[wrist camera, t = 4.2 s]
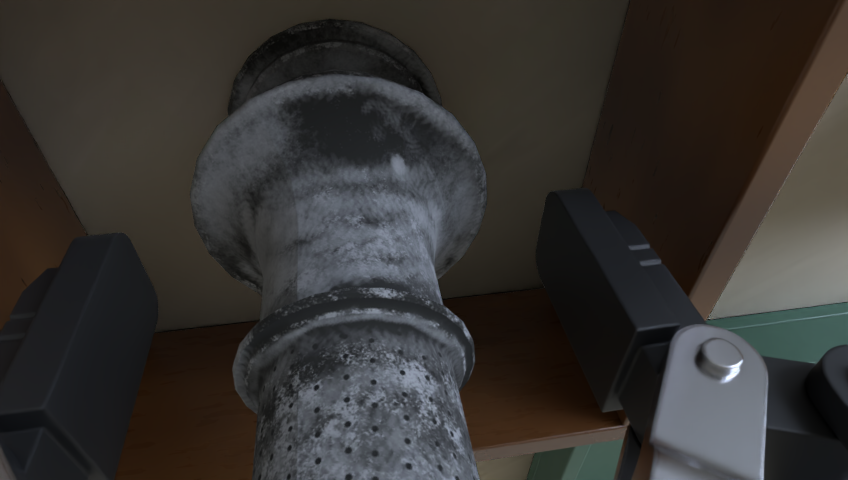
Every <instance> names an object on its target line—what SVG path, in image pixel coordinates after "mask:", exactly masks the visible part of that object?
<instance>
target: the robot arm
mask: <svg viewBox="0 0 848 480" xmlns="http://www.w3.org/2000/svg"><path fill="white" fill-rule="evenodd" d="M536 264H537V269H538V273H539V276H540V279H541V281H542V283H543V285H544V287H545V290H546V292H547V294H548V296H549V298H550V300H551V303H552V305H553V307H554V309H555V311H556V314H557V316H558V318H559V320H560V322H561V324H562V327H563V329H564V331H565V333H566V335H567V338H568V340H569V342H570V344H571V346H572V349H573V351H574V353H575V355H576V357H577V359H578V362H579V364H580V366H581V368H582V370H583V373H584V375H585V377H586V379H587V381H588V383H589V386H590V388H591V390H592V392H593V394H594V397H595V399H596V401H597V403H598V405H599V407H600V410H601V412H609V411H615V410H622V409H623V410H624V412H625V414H626V416H627V418H628V420H629V422H630V423H629V425H628V427H627V430H626V433H625V436H624V440H623V444H622V448H621V452H620V456H619V460H618V463H617V467H616V471H615V475H614V479H613V480H848V345H839V346H835V347H833V348H831V349H829V350H828V351H827V352H826V353H825V354H824V355H823V356H822V358H821V359H820V360H819V361H818V362H817V364H814V363H807V362H800V361H794V360H787V359H780V358H773V357H766V356H761V355H760V354H759V353H758V351H757V350H756V349H755V348H754V347H753V346H752V345H751V344H749V343H748V342H747V341H746V340H744V339H743V338H741V337H740V336H738V335H737V334H735V333H733V332H731V331H728V330H726V329H724V328H720V327H717V326H713V325H708V324H707V323H706V321H705V320H704V319H703V317H702V316H701V315H700V313H699V312H698V310H697V309H696V308H695V306H694V305H693V303H692V302H691V301H690V299H689V298H688V297H687V295H686V294H685V292H684V291H683V290H682V288H681V287H680V285H679V284H678V283H677V281H676V280H675V279H674V277H673V276H672V274H671V273H670V272H669V270H668V269H667V267H666V266H665V265H664V264H661V259H660V258H659V256H658V255H657V254H656V252H655V251H654V249H653V248H650V244H649V242H648V241H647V240H646V238H645V237H644V236H643V234H642V233H641V231H640V230H639V229H638V227H637V226H636V225H635V224H633V223H632V222H631V221H629V220H628V219H626V218H625V217H624V216H622V215H621V214H619V213H618V212H617V211H615V210H612V211H605V210H604V209H603V208H602V206H601V205H600V203H599V202H598V200H597V199H596V197H595V196H594V194H593V193H592V191H591V190H589V189H588V188H580V189H570V190H560V191H551V192H549V193H548V195H547V197H546V200H545V205H544V210H543V215H542V220H541V225H540V230H539V235H538V241H537V246H536ZM9 317H10V321H6V323H5V325H4V327H3V329H2V330H1V332H0V480H114V479H115V475H116V472H117V468H118V464H119V460H120V457H121V453H122V449H123V446H124V442H125V438H126V435H127V431H128V427H129V424H130V420H131V416H132V413H133V409H134V405H135V402H136V398H137V394H138V391H139V387H140V383H141V380H142V376H143V372H144V369H145V365H146V361H147V357H148V354H149V350H150V346H151V343H152V339H153V335H154V332H155V328H156V324H157V320H158V300H157V295H156V292H155V289H154V287H153V285H152V283H151V281H150V279H149V277H148V275H147V273H146V271H145V269H144V267H143V265H142V263H141V261H140V258H139V256H138V254H137V252H136V250H135V248H134V246H133V244H132V242H131V240H130V239H129V237H128V236H127V235H126V234H124V233H111V234H101V235H91V236H81V237H76V238H74V239H73V241H72V242H71V244H70V246H69V248H68V250H67V252H66V254H65V256H64V258H63V260H62V262H61V264H60V266H59V267H56V268H47V269H46V270H45V271H44V272H43V273H42V274H41V275H40V276H39V277H38V278H36V279H35V280H34V281H33V282H32V283H31V284H30V285H29V286H28V287H27V288H26V289H25V290H24V291H23V292H22V294H21V296H20V297H19V299H18V301H17V303H16V305H15V307H14V308H13V310H12V312H11V314H10V316H9Z"/></svg>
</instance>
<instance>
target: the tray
mask: <svg viewBox="0 0 848 480" xmlns="http://www.w3.org/2000/svg"><path fill="white" fill-rule="evenodd" d="M706 323H707V324H708V325H713V326H717V327H720V328H724V329H726V330H728V331H731V332H733V333H735V334H737V335H738V336H740V337H741V338H743V339H744V340H746V341H747V342H748V343H749V344H751V345H752V346H753V347H754V348H755V349H756V350H757V351H758V353H759V354H760V355H761V356H766V357H773V358H780V359H787V360H794V361H800V362H807V363H814V364H817V362H818V361H819V360H820V359H821V358H822V356H823V355H824V354H825V353H826V352H827V351H828V350H829V349H831V348H833V347H835V346H839V345H848V302H847V303H839V304H831V305H823V306H815V307H808V308H800V309H792V310H784V311H777V312H769V313H761V314H753V315H746V316H738V317H730V318H722V319H715V320H707V321H706ZM623 440H624V439H621V440H615V441H608V442H602V443H595V444H589V445H582V446H576V447H570V448H563V449H557V450H550V451H544V452H537V453H535V454H534V457H533V461H532V464H531V467H530V470H529V473H528V476H527V480H613V479H614V475H615V471H616V467H617V463H618V460H619V456H620V452H621V448H622V444H623Z"/></svg>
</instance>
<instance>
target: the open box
mask: <svg viewBox="0 0 848 480" xmlns="http://www.w3.org/2000/svg"><path fill="white" fill-rule="evenodd" d="M847 72H848V0H630V4H629V8H628V12H627V16H626V20H625V24H624V27H623V31H622V35H621V39H620V43H619V47H618V51H617V55H616V58H615V62H614V66H613V70H612V74H611V78H610V82H609V86H608V89H607V93H606V97H605V101H604V105H603V109H602V113H601V117H600V121H599V124H598V128H597V132H596V136H595V140H594V144H593V148H592V152H591V155H590V159H589V163H588V167H587V171H586V175H585V179H584V183H583V186H582V188H588V189H589V190H591V191H592V193H593V194H594V196H595V197H596V199H597V200H598V202H599V203H600V205H601V206H602V208H603V209H604V210H605V211H612V210H615V211H617V212H618V213H619V214H621V215H622V216H624V217H625V218H626V219H628V220H629V221H631V222H632V223H633V224H635V225H636V226H637V227H638V229H639V230H640V231H641V233H642V234H643V236H644V237H645V238H646V240H647V241H648V242H649V244H650V248H653V249H654V251H655V252H656V254H657V255H658V256H659V258H660V259H661V264H664V265H665V266H666V267H667V269H668V270H669V272H670V273H671V274H672V276H673V277H674V279H675V280H676V281H677V283H678V284H679V285H680V287H681V288H682V290H683V291H684V292H685V294H686V295H687V297H688V298H689V299H690V301H691V302H692V303H693V305H694V306H695V308H696V309H697V310H698V312H699V313H700V315H701V316H702V317H703V319H704V320H705V321H706V320H707V318H708V316H709V315H710V313H711V311H712V309H713V308H714V306H715V304H716V302H717V301H718V299H719V297H720V295H721V294H722V292H723V290H724V288H725V287H726V285H727V283H728V281H729V280H730V278H731V276H732V274H733V272H734V271H735V269H736V267H737V265H738V264H739V262H740V260H741V258H742V257H743V255H744V253H745V251H746V250H747V248H748V246H749V244H750V243H751V241H752V239H753V237H754V236H755V234H756V232H757V230H758V229H759V227H760V225H761V223H762V222H763V220H764V218H765V216H766V215H767V213H768V211H769V209H770V208H771V206H772V204H773V202H774V201H775V199H776V197H777V195H778V193H779V192H780V190H781V188H782V186H783V185H784V183H785V181H786V179H787V178H788V176H789V174H790V172H791V171H792V169H793V167H794V165H795V164H796V162H797V160H798V158H799V157H800V155H801V153H802V151H803V150H804V148H805V146H806V144H807V143H808V141H809V139H810V137H811V136H812V134H813V132H814V130H815V129H816V127H817V125H818V123H819V122H820V120H821V118H822V116H823V114H824V113H825V111H826V109H827V107H828V106H829V104H830V102H831V100H832V99H833V97H834V95H835V93H836V92H837V90H838V88H839V86H840V85H841V83H842V81H843V79H844V78H845V76H846V74H847ZM81 236H87V234H86V232H85V230H84V229H83V227H82V225H81V223H80V221H79V220H78V218H77V216H76V214H75V213H74V211H73V209H72V207H71V205H70V204H69V202H68V200H67V198H66V196H65V195H64V193H63V191H62V189H61V187H60V186H59V184H58V182H57V180H56V178H55V177H54V175H53V173H52V171H51V169H50V168H49V166H48V164H47V162H46V160H45V159H44V157H43V155H42V153H41V151H40V150H39V148H38V146H37V144H36V142H35V141H34V139H33V137H32V135H31V133H30V132H29V130H28V128H27V126H26V124H25V123H24V121H23V119H22V117H21V115H20V114H19V112H18V110H17V108H16V106H15V105H14V103H13V101H12V99H11V97H10V96H9V94H8V92H7V90H6V88H5V87H4V85H3V83H2V81H1V80H0V332H1V330H2V329H3V327H4V325H5V323H6V321H10V317H9V316H10V314H11V312H12V310H13V308H14V307H15V305H16V303H17V301H18V299H19V297H20V296H21V294H22V292H23V291H24V290H25V289H26V288H27V287H28V286H29V285H30V284H31V283H32V282H33V281H34V280H35V279H36V278H38V277H39V276H40V275H41V274H42V273H43V272H44V271H45V270H46V269H47V268H56V267H59V266H60V264H61V262H62V260H63V258H64V256H65V254H66V252H67V250H68V248H69V246H70V244H71V242H72V241H73V239H74V238H76V237H81ZM442 302H443V306H445V307H446V308H448V309H449V310H450V311H451V312H452V313H454V314H455V315H456V316H457V317H458V318H459V319H461V320H462V321H463V322H464V324H465V326H466V328H467V330H468V331H469V333H470V335H471V337H472V339H473V342H474V351H475V364H474V367H473V370H472V373H471V376H470V379H469V380H468V382H467V383H466V384H465V386H464V387H463V388H462V390H461V391H460V392H459V394H460V399H461V403H462V407H463V411H464V415H465V420H466V424H467V428H468V432H469V437H470V441H471V445H472V449H473V454H474V458H475V462H480V461H486V460H493V459H499V458H505V457H512V456H518V455H525V454H531V453H537V452H544V451H550V450H557V449H563V448H570V447H576V446H582V445H589V444H595V443H602V442H608V441H615V440H621V439H624V436H625V433H626V430H627V427H628V425H629V423H630V422H629V420H628V418H627V416H626V414H625V412H624V410H623V409H622V410H615V411H609V412H601V410H600V407H599V405H598V403H597V401H596V399H595V397H594V394H593V392H592V390H591V388H590V386H589V383H588V381H587V379H586V377H585V375H584V373H583V370H582V368H581V366H580V364H579V362H578V359H577V357H576V355H575V353H574V351H573V349H572V346H571V344H570V342H569V340H568V338H567V335H566V333H565V331H564V329H563V327H562V324H561V322H560V320H559V318H558V316H557V314H556V311H555V309H554V307H553V305H552V303H551V300H550V298H549V296H548V294H547V292H546V290H545V288H540V289H532V290H523V291H514V292H506V293H497V294H488V295H480V296H471V297H463V298H454V299H445V300H442ZM259 322H260V321H255V322H246V323H238V324H229V325H221V326H212V327H203V328H195V329H186V330H177V331H169V332H160V333H154V335H153V339H152V343H151V346H150V350H149V354H148V357H147V361H146V365H145V369H144V372H143V376H142V380H141V383H140V387H139V391H138V394H137V398H136V402H135V405H134V409H133V413H132V416H131V420H130V424H129V427H128V431H127V435H126V438H125V442H124V446H123V449H122V453H121V457H120V460H119V464H118V468H117V472H116V475H115V479H114V480H252V474H253V461H254V449H255V437H256V425H257V414H256V413H255V412H253V411H252V410H251V409H249V408H248V407H247V406H246V405H245V403H244V402H243V400H242V399H241V397H240V396H239V394H238V393H237V391H236V390H235V385H234V378H233V371H232V368H233V363H234V360H235V357H236V353H237V350H238V347H239V344H240V343H241V342H242V340H243V339H244V338H245V337H246V336H247V334H248V333H249V332H250V331H251V330H252V328H253V327H254V326H255V325H256V324H257V323H259Z"/></svg>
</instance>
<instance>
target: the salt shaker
mask: <svg viewBox="0 0 848 480" xmlns="http://www.w3.org/2000/svg"><path fill="white" fill-rule="evenodd" d="M190 199H191V205H192V211H193V218H194V224H195V227H196V229H197V231H198V233H199V235H200V237H201V239H202V240H203V242H204V244H205V246H206V248H207V250H208V252H209V254H210V255H211V256H212V257H213V258H214V259H215V260H216V261H217V262H218V263H219V264H220V265H221V266H222V267H223V268H224V269H225V270H226V271H227V272H228V273H229V274H230V275H231V276H232V277H233V278H235V279H236V280H238V281H239V282H241V283H243V284H244V285H246V286H247V287H249V288H251V289H252V290H254V291H255V292H257V293H259V294H260V295H262V302H261V313H260V322H259V323H257V324H256V325H255V326H254V327H253V328H252V330H251V331H250V332H249V333H248V334H247V336H246V337H245V338H244V339H243V340H242V342H241V343H240V344H239V347H238V350H237V353H236V357H235V360H234V363H233V368H232V371H233V378H234V385H235V390H236V391H237V393H238V394H239V396H240V397H241V399H242V400H243V402H244V403H245V405H246V406H247V407H248V408H249V409H251V410H252V411H253V412H255V413H256V414H257V425H256V437H255V449H254V461H253V474H252V480H480V479H479V475H478V470H477V466H476V462H475V458H474V454H473V449H472V445H471V441H470V437H469V432H468V428H467V424H466V420H465V415H464V411H463V407H462V403H461V399H460V394H459V392H460V391H461V390H462V388H463V387H464V386H465V384H466V383H467V382H468V380H469V379H470V376H471V373H472V370H473V367H474V364H475V351H474V342H473V339H472V337H471V335H470V333H469V331H468V330H467V328H466V326H465V324H464V322H463V321H462V320H461V319H459V318H458V317H457V316H456V315H455V314H454V313H452V312H451V311H450V310H449V309H448V308H446V307H445V306H443V302H442V298H441V294H440V290H439V285H438V281H437V279H439V278H441V277H442V276H443V275H444V274H445V273H446V272H447V271H448V270H449V269H450V268H451V267H452V266H453V265H454V264H455V263H456V262H457V261H458V260H459V259H460V258H462V257H463V255H464V254H465V252H466V251H467V249H468V247H469V246H470V244H471V243H472V241H473V240H474V238H475V236H476V235H477V233H478V232H479V229H480V225H481V222H482V218H483V215H484V212H485V208H486V205H487V188H486V172H485V169H484V167H483V164H482V161H481V159H480V156H479V153H478V150H477V148H476V145H475V142H474V141H473V140H472V138H471V137H470V136H469V134H468V133H467V132H466V131H465V129H464V128H463V127H462V126H461V124H460V123H459V122H458V121H457V119H456V118H455V117H454V116H453V114H451V113H450V112H449V111H447V110H446V109H444V108H443V107H442V104H441V98H440V95H439V93H438V90H437V87H436V85H435V82H434V80H433V77H432V75H431V73H430V71H429V70H428V69H427V67H426V66H425V65H424V63H423V62H422V61H421V60H420V58H419V57H418V56H417V54H416V53H415V52H414V51H413V50H412V49H410V48H409V47H408V46H406V45H405V44H404V43H402V42H401V41H400V40H398V39H397V38H396V37H394V36H393V35H391V34H390V33H387V32H385V31H382V30H379V29H377V28H374V27H372V26H369V25H367V24H364V23H361V22H351V21H342V20H333V19H328V20H322V21H316V22H310V23H303V24H298V25H296V26H294V27H292V28H290V29H287V30H285V31H283V32H281V33H279V34H277V35H274V36H272V37H270V38H269V39H268V40H267V41H266V42H265V43H264V44H263V45H261V46H260V47H259V48H258V49H257V50H256V51H255V52H253V53H252V54H251V55H250V56H249V57H248V59H247V60H246V62H245V64H244V65H243V67H242V69H241V70H240V72H239V74H238V75H237V77H236V79H235V80H234V84H233V89H232V93H231V97H230V102H229V106H228V117H227V118H226V119H225V120H223V121H222V122H221V123H220V124H219V125H217V127H216V128H215V130H214V131H213V133H212V135H211V136H210V138H209V140H208V141H207V143H206V145H205V146H204V148H203V149H202V151H201V153H200V154H199V156H198V158H197V161H196V166H195V171H194V176H193V181H192V186H191V191H190Z"/></svg>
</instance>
